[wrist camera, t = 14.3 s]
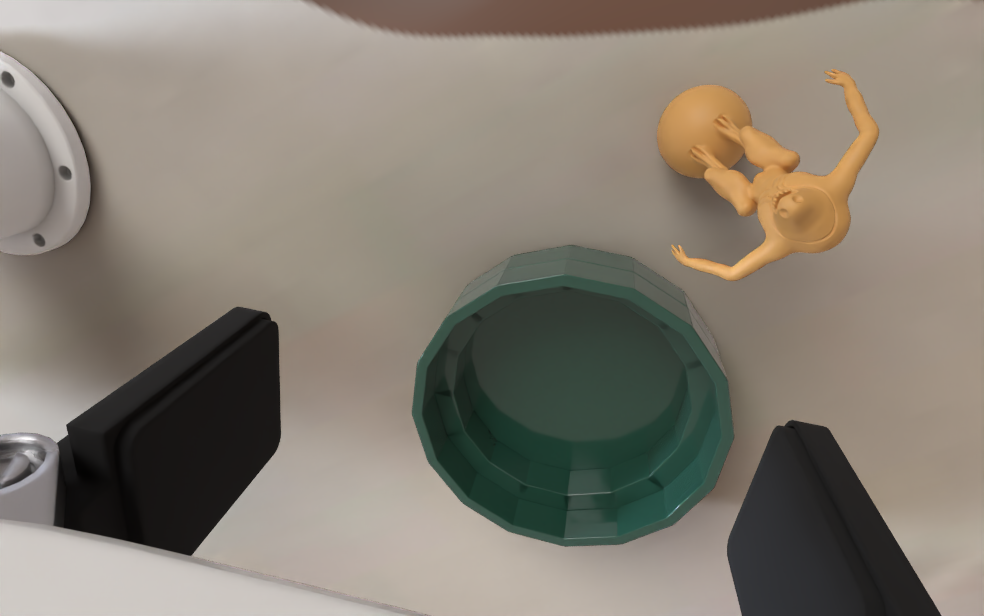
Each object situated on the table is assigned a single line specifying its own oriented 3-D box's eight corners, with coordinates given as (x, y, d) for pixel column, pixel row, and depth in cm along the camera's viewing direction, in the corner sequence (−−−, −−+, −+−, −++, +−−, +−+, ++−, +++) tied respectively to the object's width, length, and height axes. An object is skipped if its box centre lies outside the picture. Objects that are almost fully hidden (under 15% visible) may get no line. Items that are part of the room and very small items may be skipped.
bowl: (426, 452, 39) (401, 504, 34) (455, 218, 32) (428, 245, 28) (671, 513, 37) (678, 577, 32) (757, 279, 30) (782, 319, 26)
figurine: (727, 20, 26) (806, -2, 15) (832, 101, 26) (981, 135, 16) (609, 174, 29) (604, 244, 19) (703, 243, 30) (752, 350, 19)
